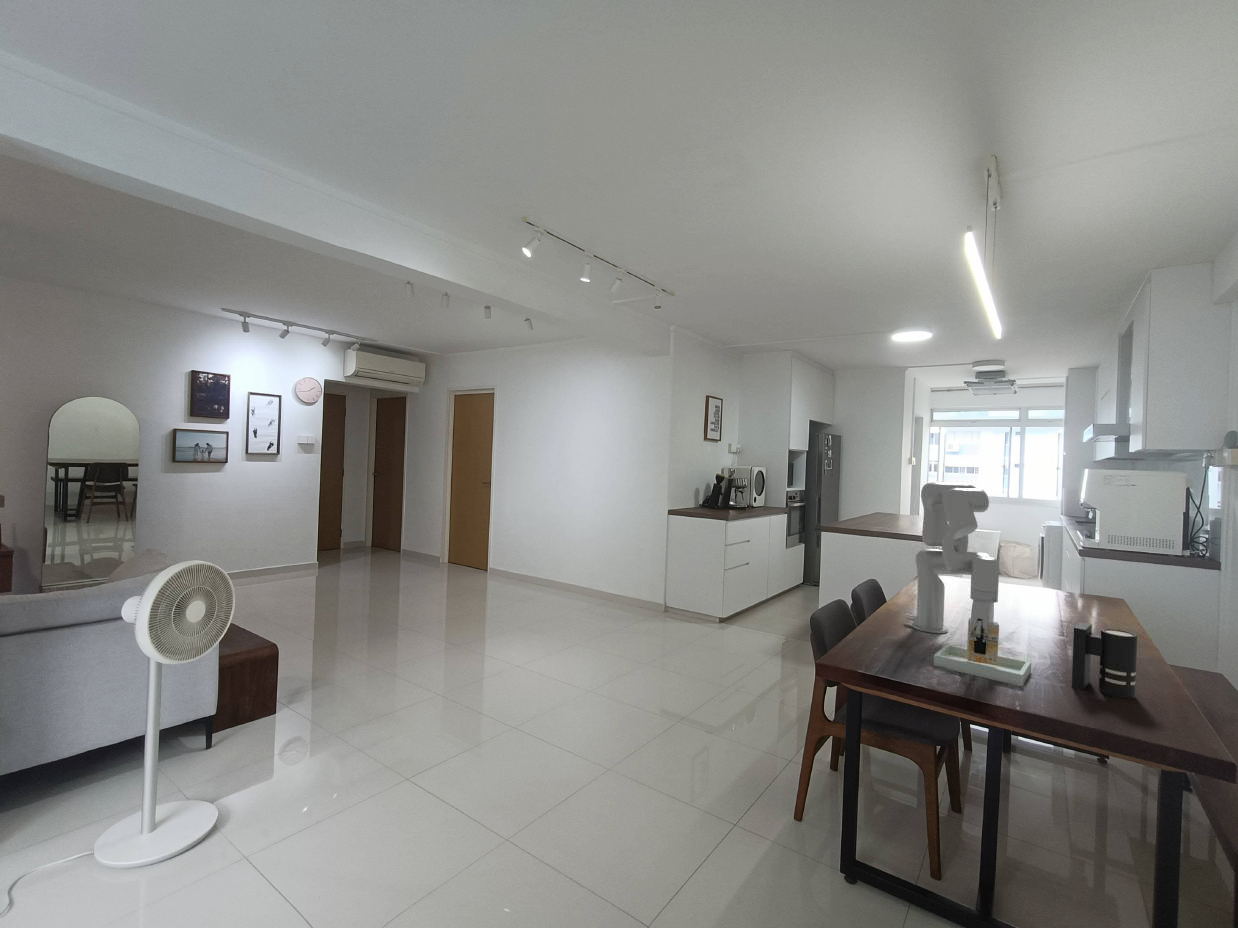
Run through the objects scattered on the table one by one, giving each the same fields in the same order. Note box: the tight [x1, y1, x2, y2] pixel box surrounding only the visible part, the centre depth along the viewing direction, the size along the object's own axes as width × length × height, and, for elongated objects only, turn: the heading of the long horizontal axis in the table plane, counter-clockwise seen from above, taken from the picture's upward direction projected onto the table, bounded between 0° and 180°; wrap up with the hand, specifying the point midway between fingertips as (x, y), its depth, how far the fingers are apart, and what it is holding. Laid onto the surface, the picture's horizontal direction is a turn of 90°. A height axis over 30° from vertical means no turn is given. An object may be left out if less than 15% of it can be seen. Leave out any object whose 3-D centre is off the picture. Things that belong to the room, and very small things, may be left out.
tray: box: [933, 643, 1032, 687], centre depth 189 cm, size 24×16×4 cm, turn 47°
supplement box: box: [966, 617, 1000, 666], centre depth 189 cm, size 8×5×13 cm, turn 62°
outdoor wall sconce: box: [1071, 621, 1138, 700], centre depth 173 cm, size 10×14×18 cm
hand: (982, 650), depth 189 cm, fingers closed on supplement box, 5 cm apart
